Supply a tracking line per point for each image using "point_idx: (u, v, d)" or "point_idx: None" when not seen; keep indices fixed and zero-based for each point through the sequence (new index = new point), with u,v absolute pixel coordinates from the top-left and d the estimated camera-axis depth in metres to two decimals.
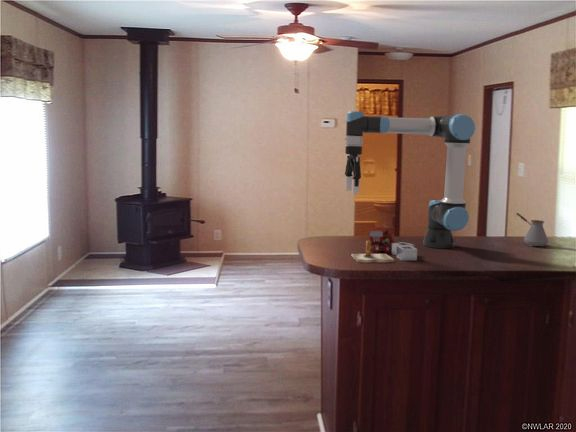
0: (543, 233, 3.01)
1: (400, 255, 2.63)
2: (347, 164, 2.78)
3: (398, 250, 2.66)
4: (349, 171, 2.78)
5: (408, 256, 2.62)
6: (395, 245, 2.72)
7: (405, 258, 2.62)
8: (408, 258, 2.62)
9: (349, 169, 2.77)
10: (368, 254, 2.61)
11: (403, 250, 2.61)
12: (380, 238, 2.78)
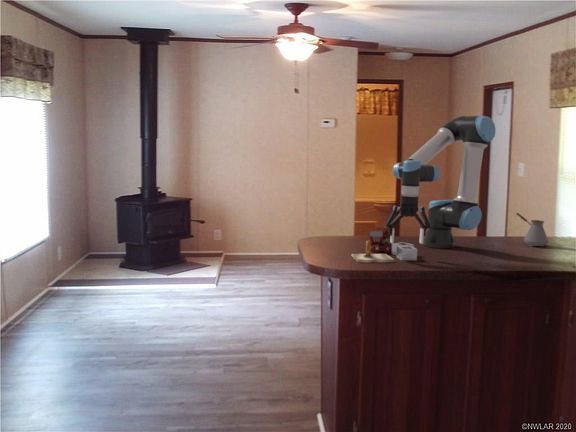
0: (543, 233, 3.01)
1: (400, 255, 2.63)
2: None
3: (398, 250, 2.66)
4: (419, 223, 2.64)
5: (408, 256, 2.62)
6: (395, 245, 2.72)
7: (405, 258, 2.62)
8: (408, 258, 2.62)
9: (417, 220, 2.64)
10: (368, 254, 2.61)
11: (403, 250, 2.61)
12: (380, 238, 2.78)
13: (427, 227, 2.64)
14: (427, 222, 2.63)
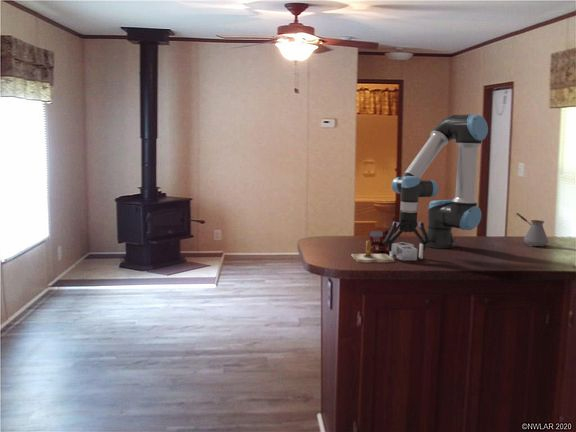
0: (543, 233, 3.01)
1: (400, 255, 2.63)
2: (421, 231, 2.66)
3: (398, 250, 2.66)
4: (418, 238, 2.65)
5: (408, 256, 2.62)
6: (395, 245, 2.72)
7: (405, 258, 2.62)
8: (408, 258, 2.62)
9: (416, 235, 2.65)
10: (368, 254, 2.61)
11: (403, 250, 2.61)
12: (380, 238, 2.78)
13: (426, 242, 2.65)
14: (426, 237, 2.64)
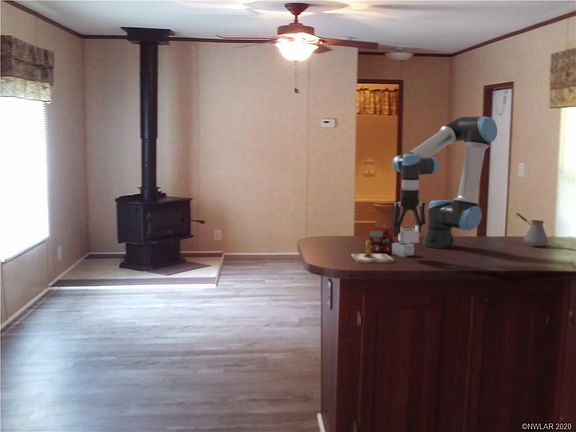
0: (543, 233, 3.01)
1: (402, 238, 2.62)
2: (420, 211, 2.65)
3: None
4: (415, 218, 2.64)
5: (410, 238, 2.61)
6: (395, 245, 2.72)
7: (407, 240, 2.61)
8: (410, 240, 2.61)
9: (414, 215, 2.64)
10: (368, 254, 2.61)
11: (405, 232, 2.60)
12: (380, 238, 2.78)
13: (422, 223, 2.64)
14: (423, 218, 2.63)
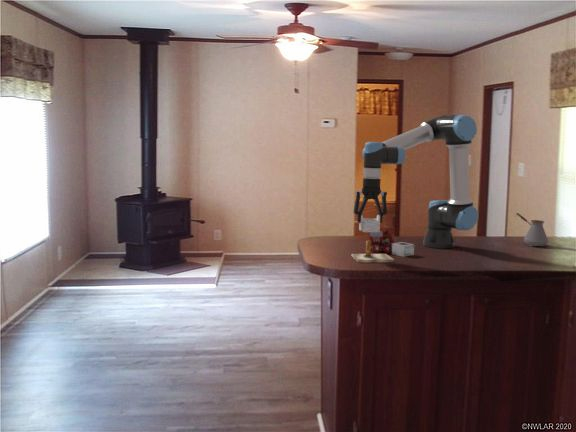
0: (543, 233, 3.01)
1: (363, 227, 2.57)
2: (382, 200, 2.60)
3: None
4: (377, 208, 2.60)
5: (371, 228, 2.56)
6: (395, 245, 2.72)
7: (367, 230, 2.56)
8: (371, 230, 2.56)
9: (376, 205, 2.60)
10: (368, 254, 2.61)
11: (365, 221, 2.56)
12: (380, 238, 2.78)
13: (383, 213, 2.59)
14: (385, 208, 2.59)
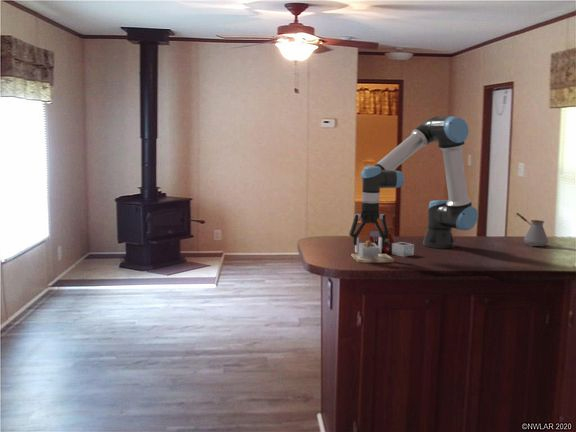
0: (543, 233, 3.01)
1: (361, 253, 2.59)
2: (382, 223, 2.62)
3: (360, 247, 2.61)
4: (378, 230, 2.61)
5: (369, 254, 2.58)
6: (395, 245, 2.72)
7: (366, 256, 2.58)
8: (369, 256, 2.58)
9: None
10: None
11: (364, 248, 2.57)
12: None
13: (385, 235, 2.61)
14: (386, 230, 2.60)
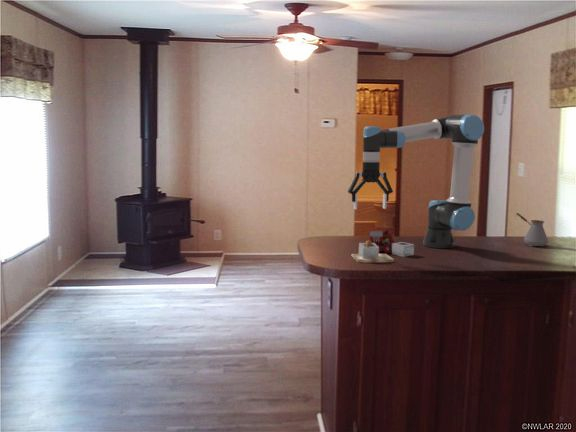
0: (543, 233, 3.01)
1: (361, 253, 2.59)
2: (384, 181, 2.67)
3: (360, 247, 2.61)
4: (381, 188, 2.67)
5: (369, 254, 2.58)
6: (395, 245, 2.72)
7: (366, 256, 2.58)
8: (369, 256, 2.58)
9: None
10: None
11: (364, 248, 2.57)
12: (380, 238, 2.78)
13: (390, 192, 2.67)
14: (389, 187, 2.66)
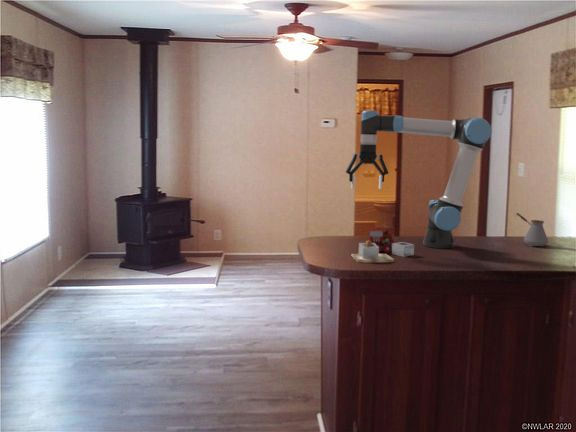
0: (543, 233, 3.01)
1: (361, 253, 2.59)
2: None
3: (360, 247, 2.61)
4: (377, 169, 2.83)
5: (369, 254, 2.58)
6: (395, 245, 2.72)
7: (366, 256, 2.58)
8: (369, 256, 2.58)
9: (376, 167, 2.83)
10: None
11: (364, 248, 2.57)
12: (380, 238, 2.78)
13: (385, 173, 2.83)
14: (385, 169, 2.82)
